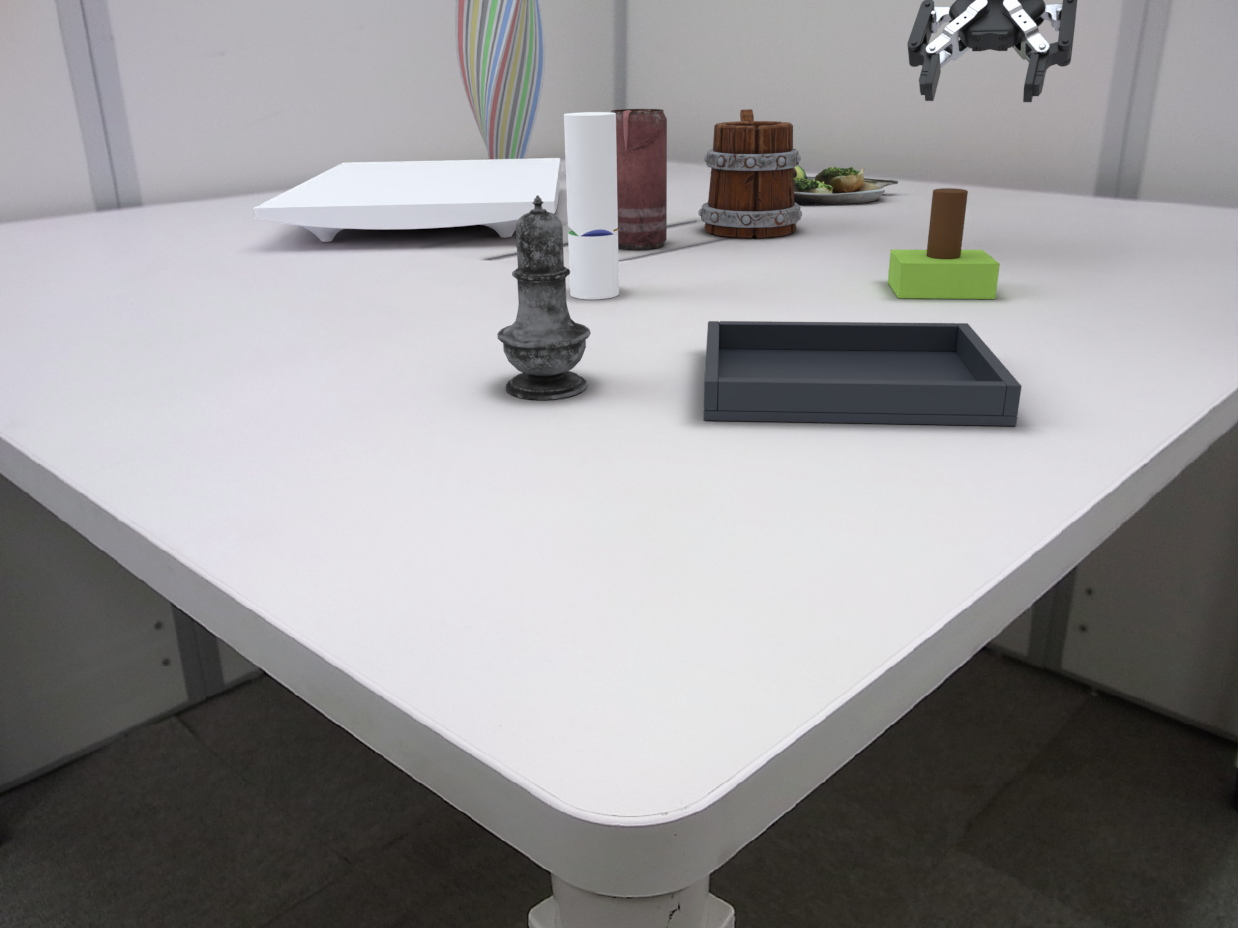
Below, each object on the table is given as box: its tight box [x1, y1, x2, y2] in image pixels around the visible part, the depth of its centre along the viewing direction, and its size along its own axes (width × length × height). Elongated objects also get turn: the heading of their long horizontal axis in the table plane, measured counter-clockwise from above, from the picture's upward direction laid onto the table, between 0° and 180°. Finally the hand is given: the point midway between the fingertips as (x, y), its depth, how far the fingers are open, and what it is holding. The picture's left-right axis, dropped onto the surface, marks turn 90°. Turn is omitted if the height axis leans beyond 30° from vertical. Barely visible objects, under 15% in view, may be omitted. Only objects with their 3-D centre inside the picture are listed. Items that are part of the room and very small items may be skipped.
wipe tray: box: [703, 320, 1022, 427], centre depth 64 cm, size 18×14×2 cm
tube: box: [563, 111, 620, 300], centre depth 86 cm, size 4×4×15 cm
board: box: [252, 157, 562, 243], centre depth 130 cm, size 45×32×5 cm
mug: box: [697, 108, 803, 239], centre depth 116 cm, size 12×14×15 cm
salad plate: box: [793, 164, 899, 206], centre depth 141 cm, size 19×18×5 cm
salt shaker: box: [497, 195, 592, 401], centre depth 63 cm, size 6×6×12 cm
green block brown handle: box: [887, 187, 1001, 300], centre depth 86 cm, size 8×6×8 cm
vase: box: [454, 0, 546, 160], centre depth 160 cm, size 14×14×30 cm
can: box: [610, 108, 668, 251], centre depth 107 cm, size 6×6×14 cm
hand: (977, 95), depth 91 cm, fingers open, 8 cm apart
